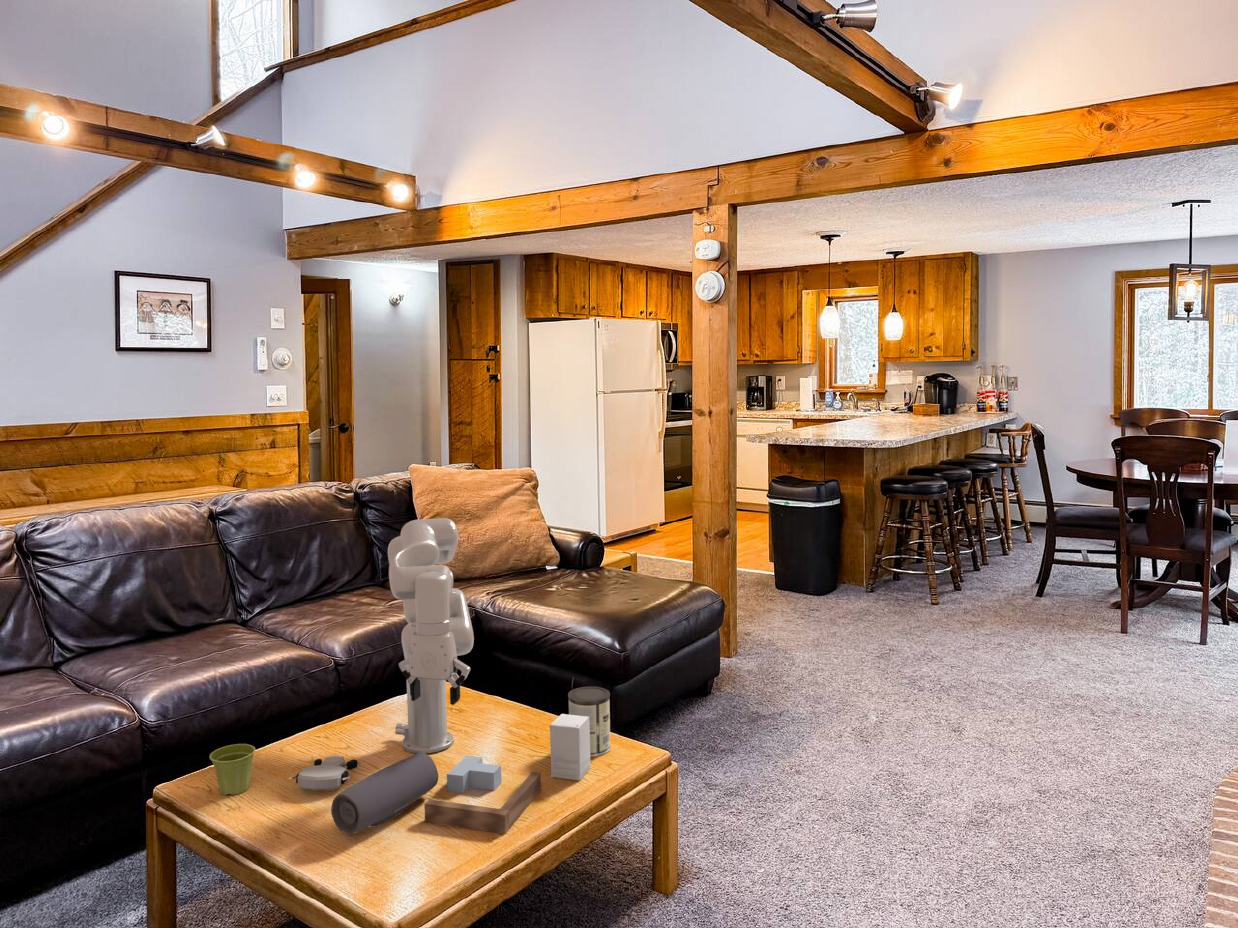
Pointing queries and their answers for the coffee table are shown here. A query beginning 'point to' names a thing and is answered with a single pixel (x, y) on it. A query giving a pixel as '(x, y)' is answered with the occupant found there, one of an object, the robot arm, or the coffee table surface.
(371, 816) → the bluetooth speaker
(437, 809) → the walnut fence
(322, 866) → the coffee table surface
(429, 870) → the coffee table surface
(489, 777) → the tee block
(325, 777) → the robot toy
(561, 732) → the supplement box
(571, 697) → the coffee can
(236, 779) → the plant pot
